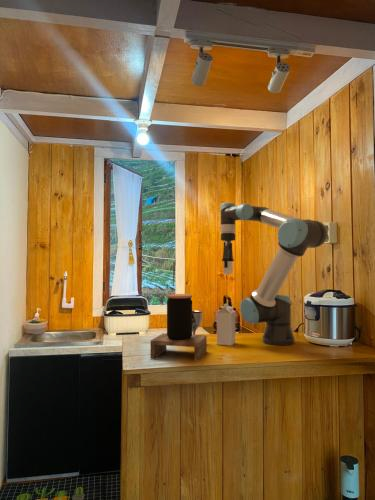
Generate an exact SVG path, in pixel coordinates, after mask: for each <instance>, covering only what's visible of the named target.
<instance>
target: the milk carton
mask: <svg viewBox="0 0 375 500" xmlns="http://www.w3.org/2000/svg"><path fill="white" fill-rule="evenodd" d="M235 343H236V311H235V310H234V307H232V306H230V305H229V303H228V302H227V303H225V304H224V303H223V307H222V308H220V309H219V311H217V312H216V345H217V346H218V345H220V346H231V347H232V346H233V345H234V344H235Z"/></svg>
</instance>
